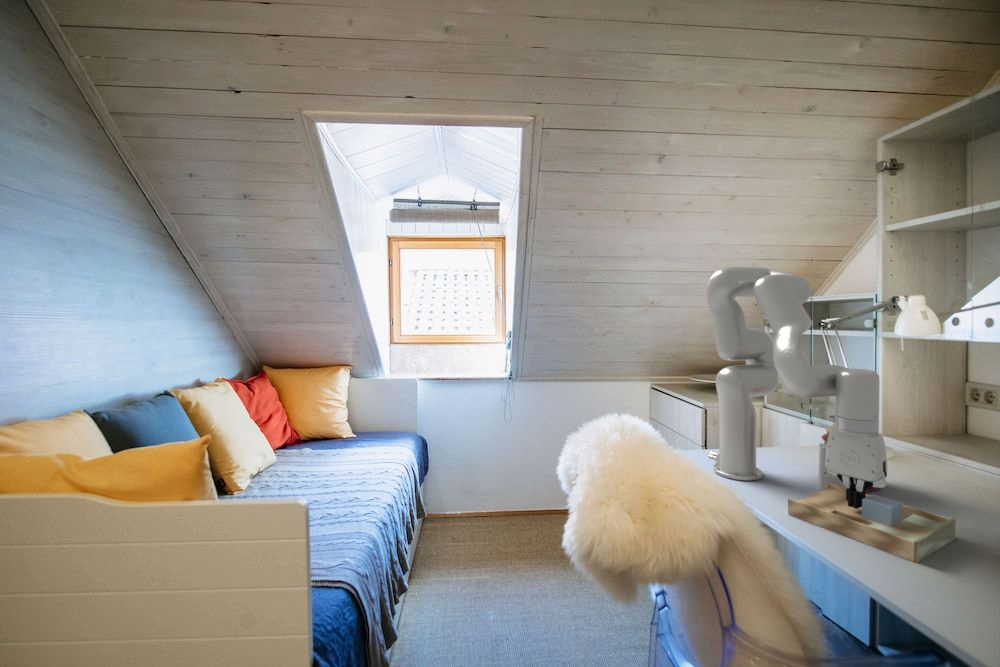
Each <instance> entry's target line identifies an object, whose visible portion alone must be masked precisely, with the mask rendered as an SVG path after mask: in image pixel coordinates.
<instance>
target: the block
mask: <svg viewBox="0 0 1000 667" xmlns="http://www.w3.org/2000/svg"><path fill="white" fill-rule="evenodd" d="M870 495H871V496H869V497H866V498H864V499H862V518H865V519H868V520H871V521H874V522H877V523H880V524H883V525H886V526H889V527H892V526H894V525H896V524H898V523H900V522H902V505H903V502H901V501H899V500H895V499H891V498H888V497H884V496H881V495H877V494H870Z"/></svg>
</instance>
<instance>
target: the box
mask: <svg viewBox="0 0 1000 667" xmlns="http://www.w3.org/2000/svg"><path fill="white" fill-rule="evenodd" d="M871 495H872V494H867V493H866V497H869V496H871ZM866 497H865V498H866ZM788 514H789V515H788ZM787 515H788V516H792V517H793V516H794V518H796V517H797V519H799V520H801V519H802V521H805V522H807V523H809V522H810V524H813V525H815V526H817V527H820V528H823V529H825V530H828V531H831V532H833V531H834V533H836V532H837V534H839V535H841V534H842V535H841V536H844V535H845V536H844V537H847V536H848V537H847V538H849V537H851V538H850V539H852V538H853V539H852V540H854V539H856V540H855V541H857V540H859V541H858V542H860V541H861V542H860V543H862V542H863V544H865V543H866V544H865V545H869V546H870V545H871V547H873V546H874V548H876V549H878V548H879V550H881V551H883V552H887V553H889V554H892V555H895V556H897V557H899V558H902V559H905V560H908V561H911V562H914V563H916V564H918V563H920V562H921V561H923V560H924V559H926V558H927V557H929V556H930V555H932V554H933V553H935V552H937V550H940V549H941V548H942V547H944V546H946V545H947V544H949V543H950V542H952V541H953V540H955V539H956V524H957V520H956V518H953V517H952V518H948V517H945V516H941V515H940V514H939V515H938V514H935V513H932V512H928V511H925V510H921V509H918V508H914V507H911V506H908V505H905V504H902V522H900V523H898V524H896V525H894V526H892V527H889V526H886V525H883V524H880V523H877V522H874V521H871V520H868V519H865V518H862V507H860V508H858V509H855V508H854V507H849V506H848V501H847V500H846V488H843V487H840V486H837V485H833V484H830V483H828V489H825V490H822V491H820V490H819V491H818V492H815V493H813V494H810V495H808V496H804V497H802V498H800V499H797V500H795V499H792V498H787Z"/></svg>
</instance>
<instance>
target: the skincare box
mask: <svg viewBox="0 0 1000 667" xmlns="http://www.w3.org/2000/svg"><path fill="white" fill-rule="evenodd" d="M826 448H827V444H824V443H821V442H820V443H819V456H818V458H819V459H818V485H817V486H818V491H819V492H820V491H822V490H825V489H828V483H830V484H833V485H837V486H840V487H843V488H845V487H844V485H843V483H842V482H841V480H840V479H839V478H838V477H836V476H834V475H832V474H830V473H828V471H827V470H828V469H827V468H826V465H825V458H826Z"/></svg>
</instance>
